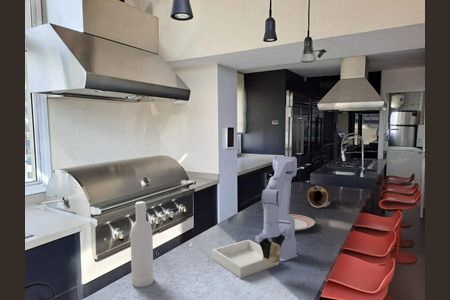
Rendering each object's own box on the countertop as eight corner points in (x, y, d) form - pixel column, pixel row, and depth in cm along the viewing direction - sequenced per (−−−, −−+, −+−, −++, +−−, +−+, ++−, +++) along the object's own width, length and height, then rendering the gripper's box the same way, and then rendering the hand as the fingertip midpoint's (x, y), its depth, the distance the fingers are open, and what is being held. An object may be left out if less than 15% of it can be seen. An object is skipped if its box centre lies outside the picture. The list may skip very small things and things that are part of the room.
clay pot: (338, 186, 226) (327, 185, 206) (339, 206, 223) (328, 208, 203) (318, 186, 234) (306, 185, 214) (319, 206, 232) (307, 207, 212)
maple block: (271, 256, 116) (271, 241, 116) (279, 260, 113) (279, 245, 112) (262, 259, 114) (262, 244, 113) (270, 264, 110) (271, 248, 110)
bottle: (154, 275, 116) (152, 199, 114) (153, 286, 108) (151, 204, 106) (133, 277, 115) (130, 200, 112) (130, 288, 107) (127, 205, 104)
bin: (248, 248, 141) (248, 239, 140) (279, 264, 124) (279, 254, 124) (212, 259, 130) (212, 249, 129) (240, 278, 113) (240, 267, 113)
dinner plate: (259, 229, 167) (259, 223, 167) (274, 216, 192) (274, 211, 191) (308, 237, 155) (309, 231, 154) (319, 222, 179) (319, 217, 179)
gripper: (277, 214, 119) (276, 247, 121) (249, 221, 111) (249, 257, 112) (290, 218, 114) (290, 253, 115) (263, 226, 105) (263, 264, 106)
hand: (271, 256), depth 113 cm, fingers closed on maple block, 5 cm apart
